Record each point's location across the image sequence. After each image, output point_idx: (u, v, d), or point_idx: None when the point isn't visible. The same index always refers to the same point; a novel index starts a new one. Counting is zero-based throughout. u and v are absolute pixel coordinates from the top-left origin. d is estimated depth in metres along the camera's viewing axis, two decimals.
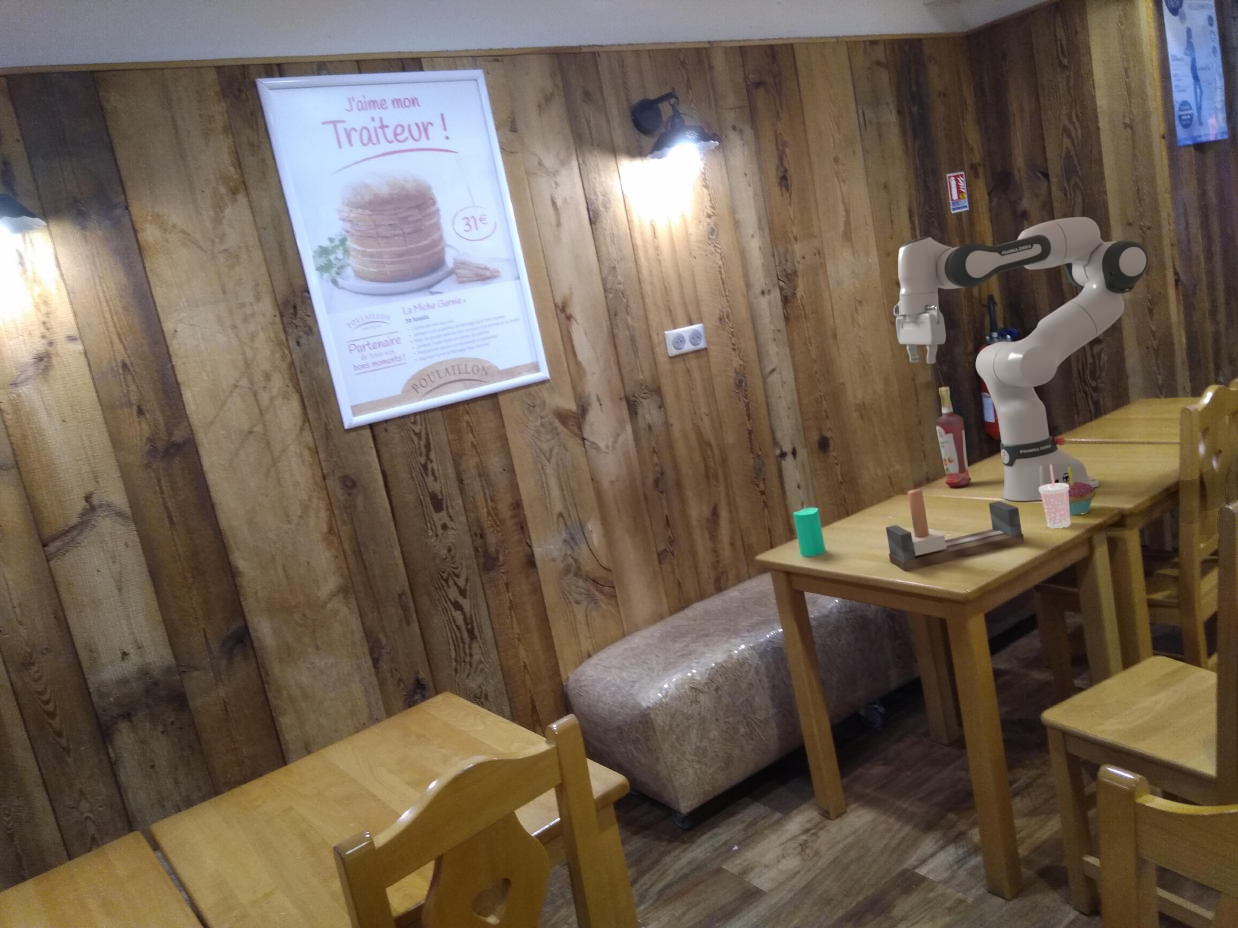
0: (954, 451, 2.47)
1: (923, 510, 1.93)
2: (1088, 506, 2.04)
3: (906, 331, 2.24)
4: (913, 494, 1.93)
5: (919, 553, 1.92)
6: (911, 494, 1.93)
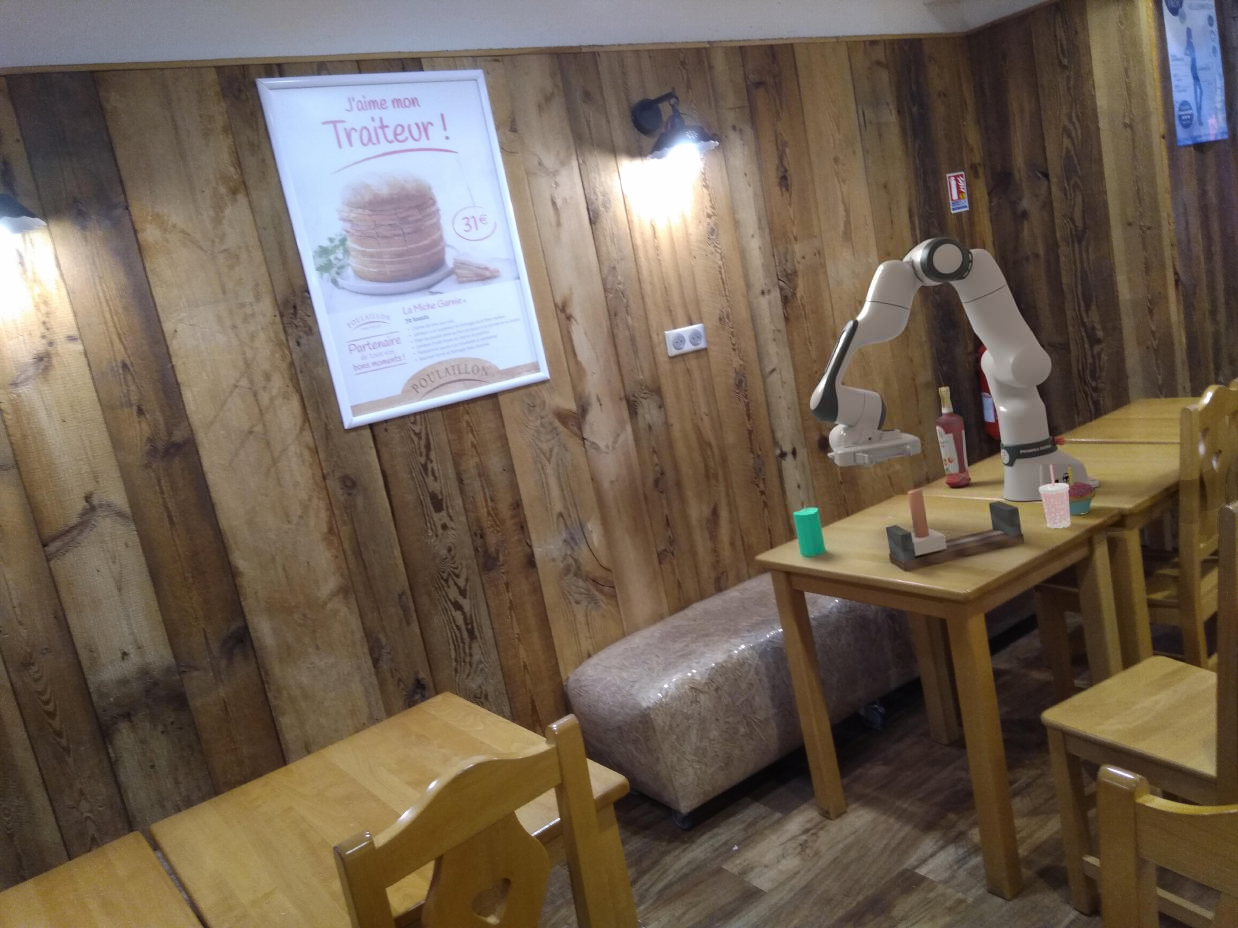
0: (954, 451, 2.47)
1: (923, 510, 1.93)
2: (1088, 506, 2.04)
3: None
4: (913, 494, 1.93)
5: (919, 553, 1.92)
6: (911, 494, 1.93)
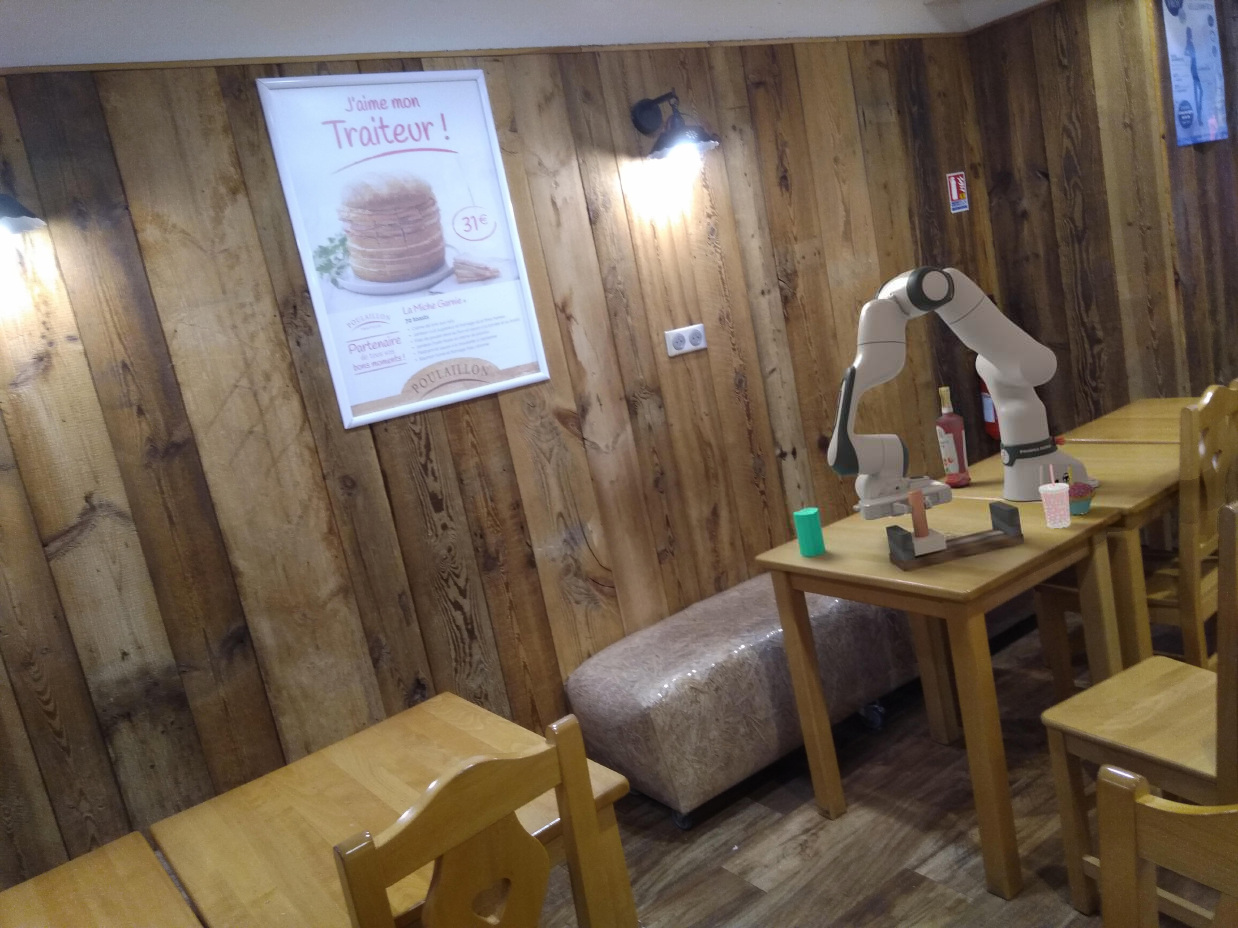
0: (954, 451, 2.47)
1: (923, 510, 1.93)
2: (1088, 506, 2.04)
3: None
4: (913, 494, 1.93)
5: (919, 553, 1.92)
6: (911, 494, 1.93)
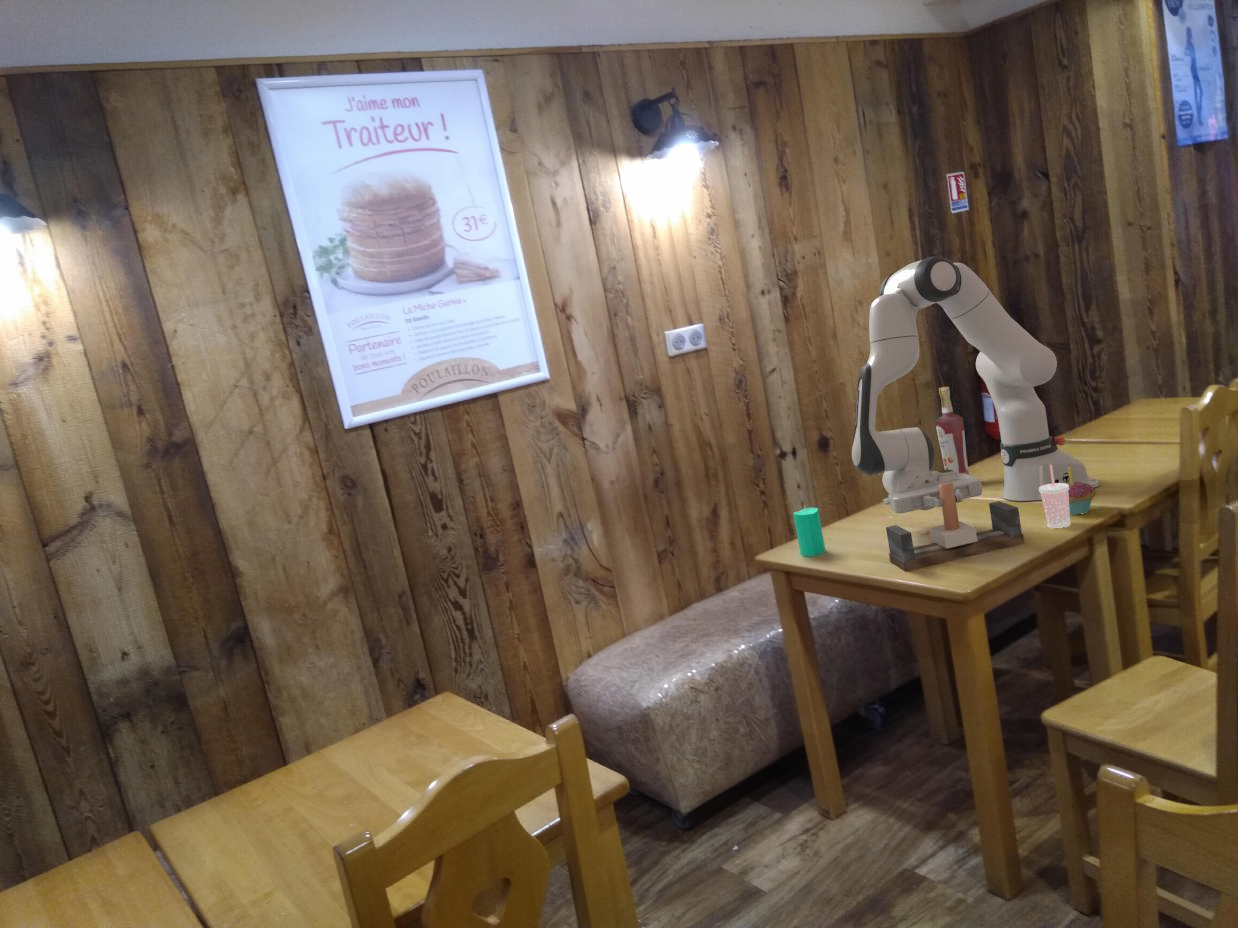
0: (954, 451, 2.47)
1: (954, 503, 1.94)
2: (1088, 506, 2.04)
3: None
4: (944, 487, 1.93)
5: (950, 546, 1.93)
6: (942, 487, 1.93)
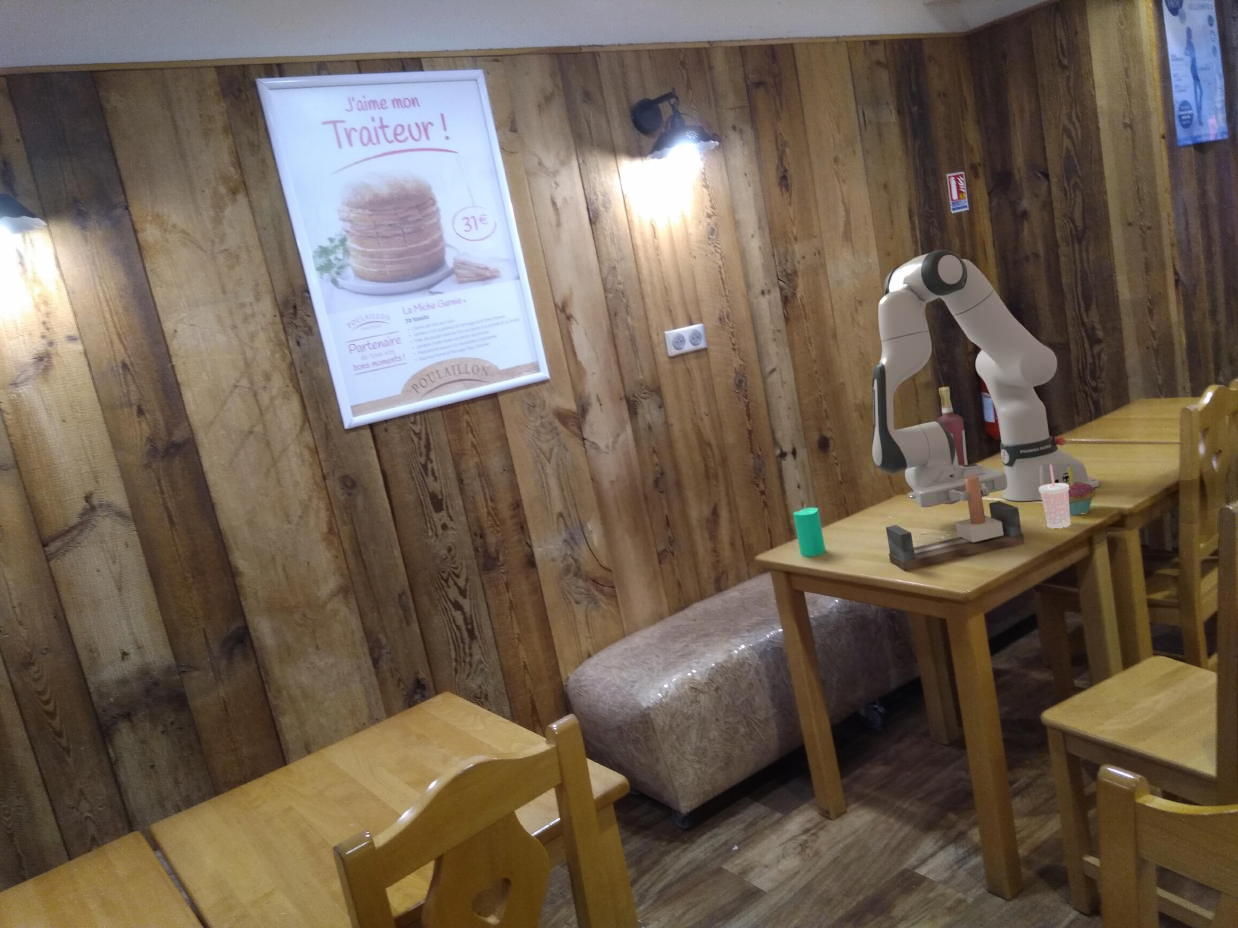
0: None
1: (980, 497, 1.94)
2: (1088, 506, 2.04)
3: None
4: (970, 481, 1.94)
5: (976, 540, 1.93)
6: (968, 481, 1.94)
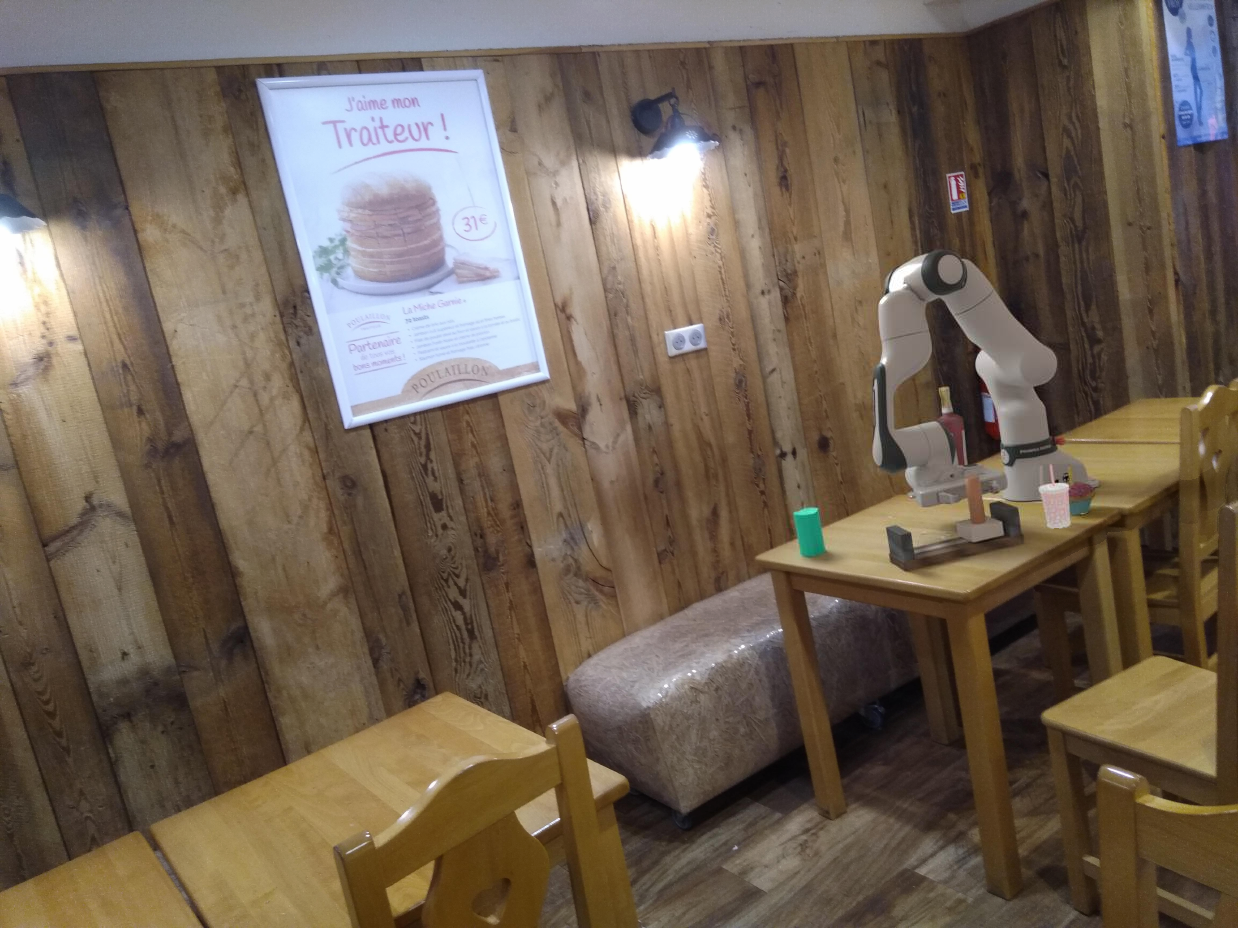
0: None
1: (980, 497, 1.94)
2: (1088, 506, 2.04)
3: None
4: (971, 481, 1.94)
5: (977, 539, 1.93)
6: (968, 481, 1.94)
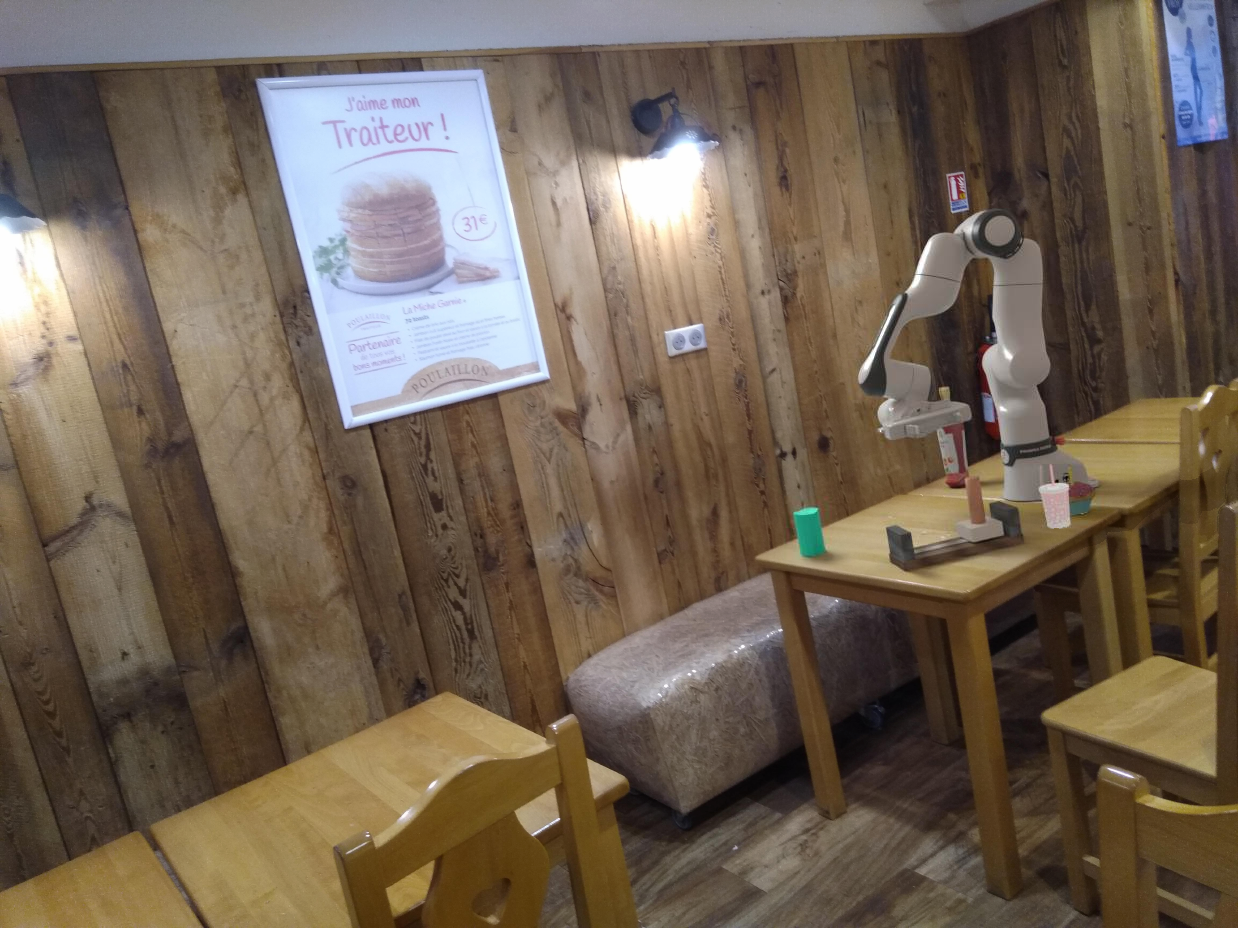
0: (954, 451, 2.47)
1: (980, 497, 1.94)
2: (1088, 506, 2.04)
3: None
4: (971, 481, 1.94)
5: (977, 539, 1.93)
6: (968, 481, 1.94)
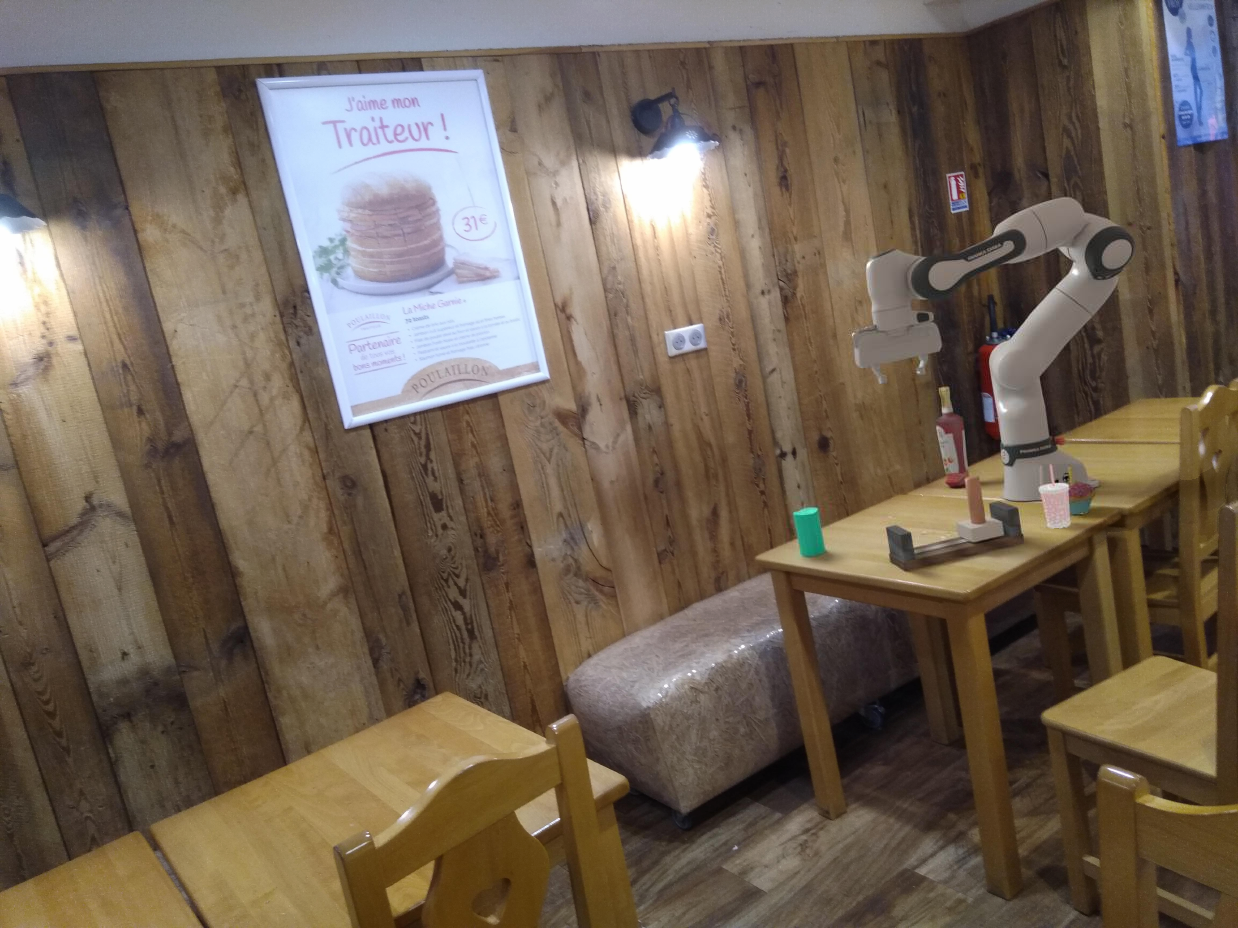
0: (954, 451, 2.47)
1: (980, 497, 1.94)
2: (1088, 506, 2.04)
3: None
4: (971, 481, 1.94)
5: (977, 539, 1.93)
6: (968, 481, 1.94)
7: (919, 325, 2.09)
